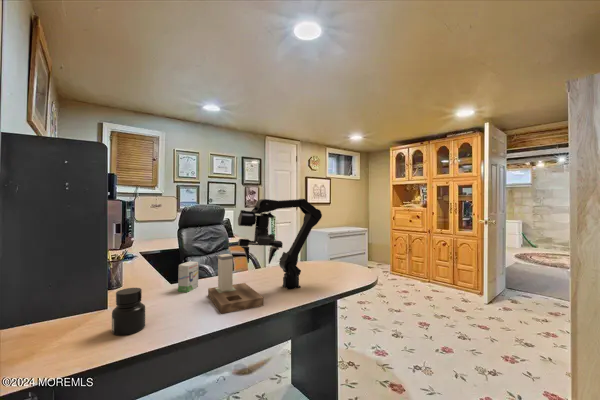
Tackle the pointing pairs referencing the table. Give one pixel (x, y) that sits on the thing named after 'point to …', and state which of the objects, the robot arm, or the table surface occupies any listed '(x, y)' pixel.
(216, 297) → the board
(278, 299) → the table surface
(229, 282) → the plug
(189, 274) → the ink box
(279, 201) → the robot arm
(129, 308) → the ink bottle
